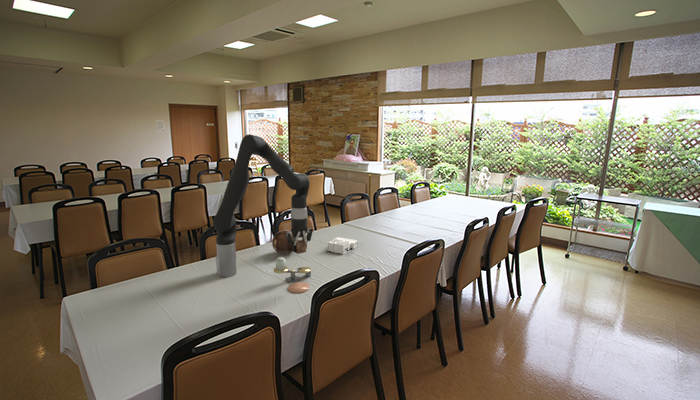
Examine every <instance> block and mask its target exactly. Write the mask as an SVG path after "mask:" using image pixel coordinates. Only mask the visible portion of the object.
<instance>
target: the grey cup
mask: <svg viewBox="0 0 700 400" xmlns="http://www.w3.org/2000/svg"><path fill="white" fill-rule="evenodd" d="M286 265H287V263H286V258H285V257H282V256H279V257H277V258H276V259H275V268H276V270H277V271H284V270H286Z"/></svg>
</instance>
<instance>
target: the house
mask: <svg viewBox="0 0 700 400" xmlns="http://www.w3.org/2000/svg"><path fill="white" fill-rule="evenodd" d="M327 244H328V246H327V249H328V252H329V251H331V252H330V253H336V254H340V255H341V254H342V255H345V254H346V253H347V252H348V251H350V250H352V249H353V250H354V249H356V248H357V247H358V244H359V240H356V239H353V238H352V239H351V238H345V237H339V236H337V237H335V238H334V239H331V240H330V241H329V242H328V243H327ZM351 248H352V249H351ZM344 249H345V250H346V251H344ZM347 250H348V251H347Z"/></svg>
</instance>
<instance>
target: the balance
mask: <svg viewBox="0 0 700 400" xmlns="http://www.w3.org/2000/svg"><path fill="white" fill-rule="evenodd" d="M311 271H312V269H311V267H308V266H300V267H298V268H297V269H290V270H289V268H288V266H287V267H286V270H284V271H277V270H276V267H274V268H273V272H274V273H276V274H284V273H285V274H286V273H287V274H289V273H290V276H287V277H285V278H284V279H285V281H286V282H287V283H289V284H292V283H297V282H301V278H300V277H299V276H297V275H296V274H297V273H298V274H304V275H305V277H307V278H311V276H312V272H311Z"/></svg>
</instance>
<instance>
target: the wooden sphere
mask: <svg viewBox="0 0 700 400" xmlns="http://www.w3.org/2000/svg"><path fill="white" fill-rule="evenodd" d="M290 231H291V230H287V229H283V230H279V231H277V232H276V233H275V234H274V235H273V237H272V241H271V242H272V243H271V244H272V248H273V250H274V251H275V252H276V253H277V254H280V255H283V256H285V255H289V254H292V253H294V252H293V251H292V245H291V244H289V243H288V240H287V237H286V234H285V233H286V232H290ZM292 237H293V234H291V239H292ZM295 238H296V237H295Z"/></svg>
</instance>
